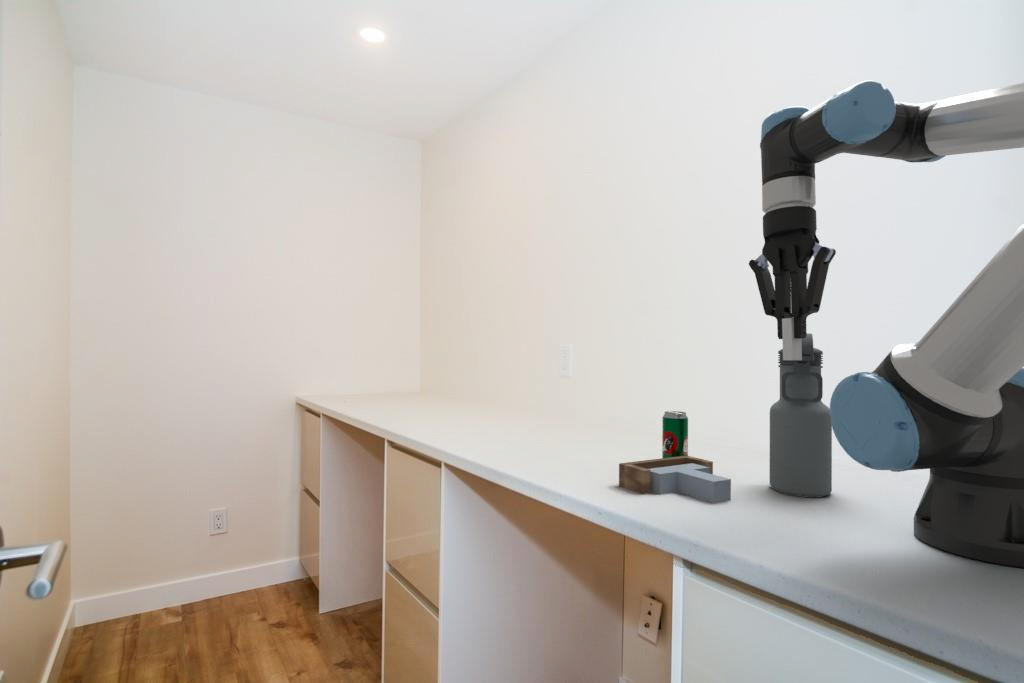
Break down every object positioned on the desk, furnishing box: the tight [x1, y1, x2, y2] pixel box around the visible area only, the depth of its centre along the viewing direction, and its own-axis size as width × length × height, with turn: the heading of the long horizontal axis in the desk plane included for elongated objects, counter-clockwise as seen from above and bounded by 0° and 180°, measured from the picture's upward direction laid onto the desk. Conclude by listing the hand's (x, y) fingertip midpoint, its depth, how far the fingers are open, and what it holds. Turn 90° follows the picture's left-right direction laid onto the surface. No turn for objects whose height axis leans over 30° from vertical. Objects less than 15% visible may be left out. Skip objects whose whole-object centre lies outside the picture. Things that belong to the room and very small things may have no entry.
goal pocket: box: [618, 455, 714, 495], centre depth 100 cm, size 6×17×4 cm, turn 118°
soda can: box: [661, 410, 689, 458], centre depth 111 cm, size 5×5×12 cm
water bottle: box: [769, 333, 833, 498], centre depth 96 cm, size 10×10×28 cm
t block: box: [649, 463, 732, 504], centre depth 94 cm, size 12×12×4 cm
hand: (792, 360), depth 84 cm, fingers closed
